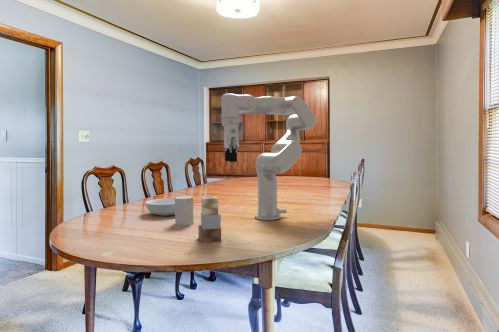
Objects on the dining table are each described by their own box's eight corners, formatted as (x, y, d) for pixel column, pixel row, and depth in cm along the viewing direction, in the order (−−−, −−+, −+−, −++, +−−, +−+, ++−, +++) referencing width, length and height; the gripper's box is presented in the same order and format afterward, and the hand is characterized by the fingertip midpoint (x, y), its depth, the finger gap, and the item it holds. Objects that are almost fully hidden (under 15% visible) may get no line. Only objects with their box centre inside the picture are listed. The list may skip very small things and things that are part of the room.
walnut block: (217, 236, 126) (217, 223, 126) (221, 241, 119) (221, 228, 119) (198, 237, 124) (198, 225, 124) (200, 243, 117) (200, 229, 117)
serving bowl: (195, 212, 171) (195, 199, 171) (165, 220, 153) (165, 206, 153) (168, 208, 182) (167, 196, 182) (137, 215, 165) (136, 202, 164)
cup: (189, 226, 142) (189, 199, 141) (172, 225, 144) (171, 198, 143) (196, 221, 150) (195, 196, 149) (179, 221, 152) (179, 195, 151)
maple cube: (215, 211, 124) (215, 196, 124) (218, 214, 119) (218, 198, 119) (201, 212, 123) (201, 196, 122) (203, 215, 118) (203, 199, 117)
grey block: (217, 224, 125) (217, 211, 125) (220, 228, 119) (220, 214, 118) (201, 225, 123) (200, 212, 123) (203, 229, 117) (202, 215, 117)
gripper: (243, 121, 135) (243, 162, 136) (234, 124, 151) (234, 160, 152) (226, 121, 132) (226, 162, 134) (218, 123, 149) (218, 160, 150)
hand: (230, 161), depth 143 cm, fingers open, 9 cm apart
